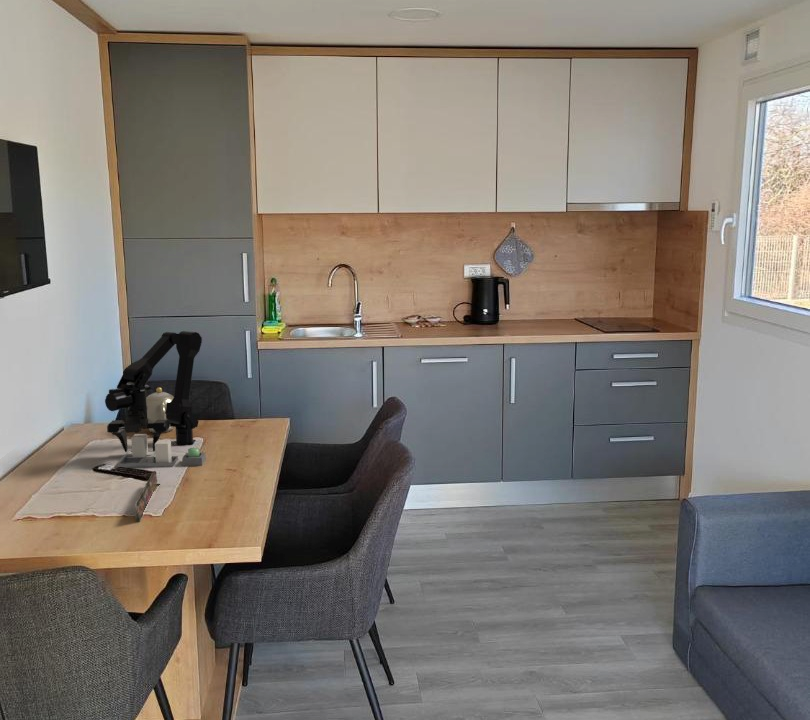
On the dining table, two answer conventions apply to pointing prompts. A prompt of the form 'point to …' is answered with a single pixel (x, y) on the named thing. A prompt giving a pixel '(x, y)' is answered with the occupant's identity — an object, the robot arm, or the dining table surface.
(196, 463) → the grey square tube
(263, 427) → the dining table surface
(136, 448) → the block
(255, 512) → the dining table surface
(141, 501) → the incense holder
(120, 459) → the blue-grey square tray
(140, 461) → the tray
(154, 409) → the teapot
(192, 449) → the button
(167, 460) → the seated billet
